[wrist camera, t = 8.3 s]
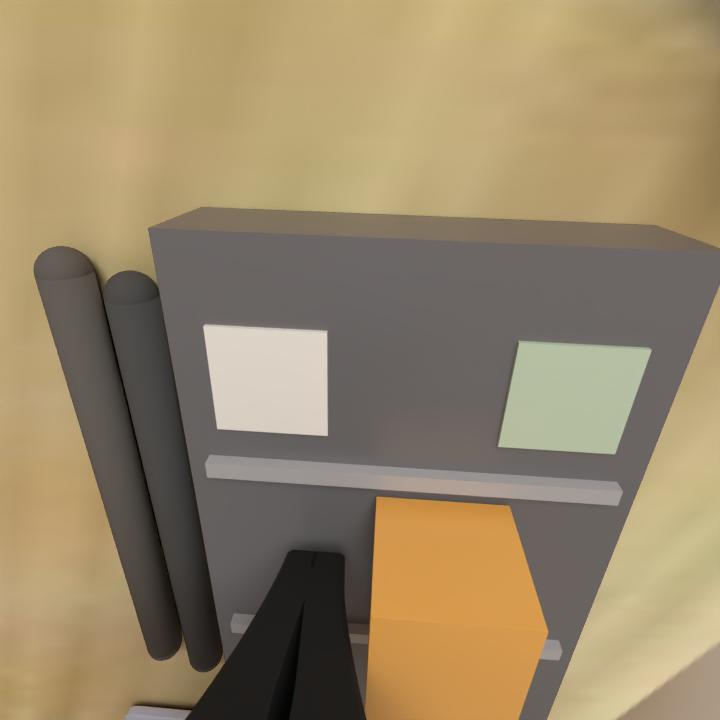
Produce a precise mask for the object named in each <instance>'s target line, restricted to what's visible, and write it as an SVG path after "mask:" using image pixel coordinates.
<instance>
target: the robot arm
mask: <svg viewBox="0 0 720 720" xmlns="http://www.w3.org/2000/svg"><path fill="white" fill-rule="evenodd" d="M125 720H367V719H366V715H365V711H364V706H363V702H362V698H361V693H360V689H359V684H358V680H357V675H356V670H355V665H354V660H353V654H352V648H351V642H350V636H349V630H348V623H347V616H346V606H345V556H343V555H342V554H341V553H334V552H320V551H306V550H293V549H292V550H291V551H289V552H288V553H287V555H286V558H285V560H284V562H283V564H282V566H281V569H280V571H279V573H278V575H277V577H276V579H275V581H274V583H273V584H272V586H271V588H270V590H269V592H268V594H267V595H266V597H265V599H264V601H263V603H262V605H261V606H260V608H259V610H258V611H257V613H256V615H255V616H254V618H253V620H252V621H251V623H250V625H249V626H248V628H247V630H246V631H245V633H244V635H243V636H242V638H241V639H240V641H239V643H238V644H237V646H236V647H235V649H234V650H233V652H232V653H231V655H230V656H229V658H228V659H227V661H226V662H225V664H224V665H223V667H222V668H221V670H220V671H219V673H218V674H217V676H216V677H215V679H214V680H213V682H212V683H211V685H210V686H209V687H208V689H207V690H206V692H205V693H204V694H203V696H202V697H201V699H200V700H199V701H198V703H197V704H196V705H195V707H194V708H193V709H192V711H191V710H180V709H170V708H159V707H148V706H132V707H131V708H130V709H129V710H128V712H127V715H126V717H125Z"/></svg>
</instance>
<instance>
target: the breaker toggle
mask: <svg viewBox="0 0 720 720" xmlns="http://www.w3.org/2000/svg"><path fill="white" fill-rule="evenodd" d="M547 635H548V629H547V626H546V622H545V619H544V616H543V613H542V609H541V606H540V603H539V600H538V596H537V593H536V590H535V587H534V583H533V580H532V577H531V574H530V570H529V567H528V564H527V561H526V557H525V554H524V551H523V548H522V544H521V541H520V538H519V535H518V531H517V528H516V525H515V522H514V518H513V515H512V512H511V509H510V506H507V505H492V504H478V503H464V502H449V501H435V500H421V499H406V498H392V497H376V514H375V531H374V548H373V565H372V583H371V600H370V617H369V636H368V655H367V675H366V694H365V715H366V719H367V720H518V719H519V716H520V713H521V710H522V707H523V705H524V702H525V699H526V696H527V693H528V690H529V687H530V684H531V681H532V679H533V676H534V673H535V670H536V667H537V664H538V661H539V658H540V655H541V652H542V650H543V647H544V644H545V641H546V638H547Z"/></svg>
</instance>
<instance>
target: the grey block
mask: <svg viewBox="0 0 720 720" xmlns="http://www.w3.org/2000/svg"><path fill="white" fill-rule="evenodd" d="M148 231H149V236H150V242H151V247H152V253H153V259H154V264H155V270H156V275H157V281H158V287H159V292H160V298H161V303H162V309H163V315H164V320H165V326H166V332H167V337H168V343H169V348H170V354H171V360H172V365H173V371H174V376H175V382H176V388H177V393H178V399H179V404H180V410H181V416H182V421H183V427H184V432H185V438H186V444H187V449H188V455H189V461H190V466H191V472H192V477H193V483H194V489H195V494H196V500H197V505H198V511H199V517H200V522H201V528H202V533H203V539H204V545H205V550H206V556H207V561H208V567H209V573H210V578H211V584H212V590H213V595H214V601H215V606H216V612H217V618H218V623H219V629H220V634H221V640H222V646H223V651H224V657H225V662H226V661H227V659H228V658H229V656H230V655H231V653H232V652H233V650H234V649H235V647H236V646H237V644H238V643H239V641H240V639H241V638H242V636H243V635H244V633H245V631H246V630H247V628H248V626H249V625H250V623H251V621H252V620H253V618H254V616H255V615H256V613H257V611H258V610H259V608H260V606H261V605H262V603H263V601H264V599H265V597H266V595H267V594H268V592H269V590H270V588H271V586H272V584H273V583H274V581H275V579H276V577H277V575H278V573H279V571H280V569H281V566H282V564H283V562H284V560H285V558H286V555H287V553H288V552H289V551H291V550H292V549H293V550H306V551H320V552H334V553H341V554H342V555H343V556H345V606H346V616H347V623H348V630H349V636H350V642H351V648H352V654H353V660H354V665H355V670H356V675H357V680H358V684H359V689H360V693H361V698H362V702H363V706H364V711H365V694H366V675H367V655H368V636H369V617H370V600H371V583H372V565H373V548H374V531H375V514H376V497H392V498H406V499H421V500H435V501H449V502H464V503H478V504H492V505H507V506H510V509H511V512H512V515H513V518H514V522H515V525H516V528H517V531H518V535H519V538H520V541H521V544H522V548H523V551H524V554H525V557H526V561H527V564H528V567H529V570H530V574H531V577H532V580H533V583H534V587H535V590H536V593H537V596H538V600H539V603H540V606H541V609H542V613H543V616H544V619H545V622H546V626H547V629H548V635H547V638H546V641H545V644H544V647H543V650H542V652H541V655H540V658H539V661H538V664H537V667H536V670H535V673H534V676H533V679H532V681H531V684H530V687H529V690H528V693H527V696H526V699H525V702H524V705H523V707H522V710H521V713H520V716H519V719H518V720H547V718H548V715H549V713H550V710H551V707H552V705H553V702H554V700H555V697H556V695H557V692H558V690H559V687H560V685H561V682H562V680H563V677H564V675H565V672H566V670H567V667H568V665H569V662H570V660H571V657H572V655H573V652H574V650H575V647H576V645H577V642H578V640H579V637H580V635H581V632H582V630H583V627H584V624H585V622H586V619H587V617H588V614H589V612H590V609H591V607H592V604H593V602H594V599H595V597H596V594H597V592H598V589H599V587H600V584H601V582H602V579H603V577H604V574H605V572H606V569H607V567H608V564H609V562H610V559H611V557H612V554H613V552H614V549H615V547H616V544H617V541H618V539H619V536H620V534H621V531H622V529H623V526H624V524H625V521H626V519H627V516H628V514H629V511H630V509H631V506H632V504H633V501H634V499H635V496H636V494H637V491H638V489H639V486H640V484H641V481H642V479H643V476H644V474H645V471H646V469H647V466H648V464H649V461H650V458H651V456H652V453H653V451H654V448H655V446H656V443H657V441H658V438H659V436H660V433H661V431H662V428H663V426H664V423H665V421H666V418H667V416H668V413H669V411H670V408H671V406H672V403H673V401H674V398H675V396H676V393H677V391H678V388H679V386H680V383H681V381H682V378H683V375H684V373H685V370H686V368H687V365H688V363H689V360H690V358H691V355H692V353H693V350H694V348H695V345H696V343H697V340H698V338H699V335H700V333H701V330H702V328H703V325H704V323H705V320H706V318H707V315H708V313H709V310H710V308H711V305H712V303H713V300H714V298H715V295H716V292H717V290H718V287H719V285H720V248H718V247H715V246H712V245H709V244H706V243H704V242H701V241H698V240H695V239H693V238H690V237H687V236H684V235H681V234H679V233H676V232H673V231H670V230H667V229H665V228H662V227H659V226H656V225H637V224H612V223H587V222H561V221H536V220H511V219H486V218H461V217H436V216H411V215H386V214H361V213H336V212H311V211H286V210H261V209H236V208H211V207H200V208H198V209H195V210H193V211H190V212H188V213H185V214H183V215H180V216H177V217H175V218H172V219H170V220H167V221H165V222H162V223H160V224H157V225H154V226H152V227H149V228H148Z"/></svg>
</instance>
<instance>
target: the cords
mask: <svg viewBox="0 0 720 720" xmlns="http://www.w3.org/2000/svg"><path fill="white" fill-rule="evenodd" d="M34 275H35V279H36V283H37V286H38V289H39V293H40V296H41V299H42V303H43V306H44V309H45V313H46V316H47V319H48V322H49V326H50V329H51V332H52V336H53V339H54V342H55V346H56V349H57V352H58V355H59V359H60V362H61V365H62V369H63V372H64V375H65V379H66V382H67V385H68V389H69V392H70V395H71V398H72V402H73V405H74V408H75V412H76V415H77V418H78V422H79V425H80V428H81V432H82V435H83V438H84V441H85V445H86V448H87V451H88V455H89V458H90V461H91V465H92V468H93V471H94V475H95V478H96V481H97V484H98V488H99V491H100V494H101V498H102V501H103V504H104V508H105V511H106V514H107V518H108V521H109V524H110V527H111V531H112V534H113V537H114V541H115V544H116V547H117V551H118V554H119V557H120V560H121V564H122V567H123V570H124V574H125V577H126V580H127V584H128V587H129V590H130V594H131V597H132V600H133V603H134V607H135V610H136V613H137V617H138V620H139V623H140V627H141V630H142V633H143V637H144V640H145V643H146V646H147V650H148V652H149V654H150V656H151V657H152V658H154V659H155V660H159V661H163V660H167V659H169V658H171V657H172V656H174V655H175V654H176V653H177V651H178V650H179V648H180V646H181V643H182V633H181V629H180V624H179V620H178V616H177V612H176V608H175V604H174V599H173V595H172V591H171V587H170V583H169V579H168V574H167V570H166V566H165V562H164V558H163V553H162V549H161V545H160V541H159V537H158V533H157V528H156V524H155V520H154V516H153V512H152V508H151V503H150V499H149V495H148V491H147V487H146V483H145V478H144V474H143V470H142V466H141V462H140V458H139V453H138V449H137V445H136V441H135V437H134V433H133V428H132V424H131V420H130V416H129V412H128V408H127V403H126V399H125V395H124V391H123V387H122V383H121V378H120V374H119V370H118V366H117V362H116V358H115V353H114V349H113V345H112V341H111V337H110V333H109V328H108V324H107V320H106V316H105V312H104V308H103V303H102V299H101V295H100V291H99V287H98V283H97V278H96V274H95V270H94V267H93V265H92V263H91V261H90V260H89V259H88V258H87V256H86V255H84V254H83V253H82V252H80V251H78V250H76V249H74V248H70V247H64V246H57V247H52V248H49V249H47V250H45V251H44V252H42V253H41V254H40V255H39V256H38V258H37V259H36V261H35V264H34ZM103 298H104V303H105V307H106V312H107V316H108V320H109V324H110V328H111V333H112V337H113V341H114V345H115V349H116V354H117V358H118V362H119V366H120V370H121V375H122V379H123V383H124V387H125V392H126V396H127V400H128V404H129V408H130V413H131V417H132V421H133V425H134V429H135V434H136V438H137V442H138V446H139V450H140V455H141V459H142V463H143V467H144V471H145V476H146V480H147V484H148V488H149V492H150V497H151V501H152V505H153V509H154V513H155V518H156V522H157V526H158V530H159V534H160V539H161V543H162V547H163V551H164V556H165V560H166V564H167V568H168V572H169V577H170V581H171V585H172V589H173V593H174V598H175V602H176V606H177V610H178V614H179V619H180V623H181V627H182V631H183V635H184V640H185V644H186V648H187V652H188V656H189V661H190V664H191V666H192V667H193V668H194V669H195V670H196V671H198V672H208V671H210V670H212V669H214V668H215V667H216V666H217V665H218V663H219V662H220V660H221V657H222V654H223V646H222V641H221V635H220V629H219V624H218V618H217V613H216V607H215V601H214V596H213V590H212V585H211V579H210V573H209V568H208V562H207V557H206V551H205V545H204V540H203V534H202V529H201V523H200V517H199V512H198V506H197V501H196V495H195V489H194V484H193V478H192V473H191V467H190V461H189V456H188V450H187V445H186V439H185V433H184V428H183V422H182V417H181V411H180V405H179V400H178V394H177V388H176V383H175V377H174V372H173V366H172V360H171V355H170V349H169V344H168V338H167V332H166V327H165V321H164V316H163V310H162V304H161V299H160V293H159V290H158V287H157V286H156V284H155V283H154V281H153V280H152V279H151V278H149V277H148V276H147V275H145V274H143V273H140V272H137V271H123V272H119V273H117V274H115V275H113V276H112V277H111V278H110V279H109V280H108V281H107V283H106V284H105V287H104V292H103Z"/></svg>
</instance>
